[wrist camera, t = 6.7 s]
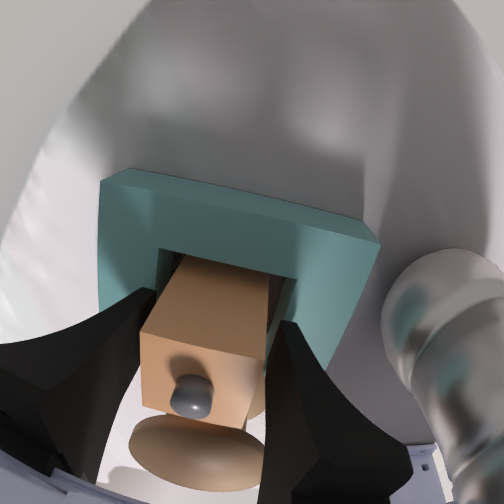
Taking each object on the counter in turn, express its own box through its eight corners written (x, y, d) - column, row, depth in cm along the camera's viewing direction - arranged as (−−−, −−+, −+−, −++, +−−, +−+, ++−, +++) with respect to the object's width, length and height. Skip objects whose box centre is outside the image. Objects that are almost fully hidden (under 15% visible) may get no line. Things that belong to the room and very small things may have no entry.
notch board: (363, 221, 13) (381, 244, 10) (313, 349, 16) (317, 385, 13) (128, 168, 12) (100, 180, 10) (121, 305, 15) (100, 334, 13)
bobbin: (285, 352, 16) (287, 446, 11) (257, 421, 18) (251, 498, 13) (162, 324, 16) (123, 409, 10) (158, 399, 18) (133, 472, 13)
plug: (269, 264, 14) (264, 381, 8) (253, 327, 15) (239, 447, 9) (190, 246, 14) (129, 349, 8) (182, 311, 15) (135, 422, 9)
